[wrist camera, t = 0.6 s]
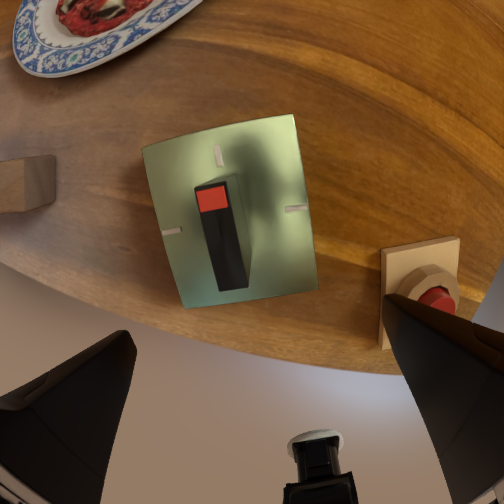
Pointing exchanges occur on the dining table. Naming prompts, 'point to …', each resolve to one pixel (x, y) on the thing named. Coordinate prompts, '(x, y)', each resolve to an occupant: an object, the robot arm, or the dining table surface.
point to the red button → (438, 300)
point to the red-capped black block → (225, 232)
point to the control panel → (252, 200)
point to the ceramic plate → (87, 31)
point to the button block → (419, 272)
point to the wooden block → (27, 183)
